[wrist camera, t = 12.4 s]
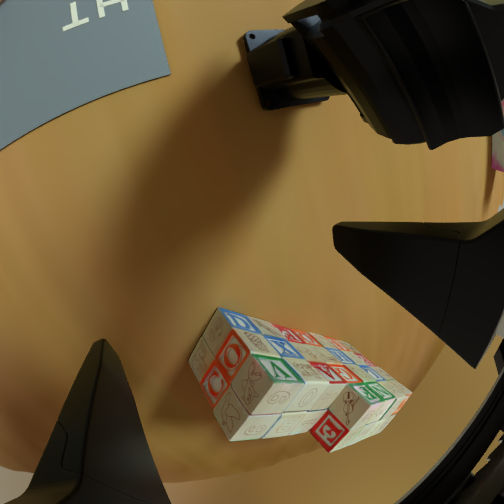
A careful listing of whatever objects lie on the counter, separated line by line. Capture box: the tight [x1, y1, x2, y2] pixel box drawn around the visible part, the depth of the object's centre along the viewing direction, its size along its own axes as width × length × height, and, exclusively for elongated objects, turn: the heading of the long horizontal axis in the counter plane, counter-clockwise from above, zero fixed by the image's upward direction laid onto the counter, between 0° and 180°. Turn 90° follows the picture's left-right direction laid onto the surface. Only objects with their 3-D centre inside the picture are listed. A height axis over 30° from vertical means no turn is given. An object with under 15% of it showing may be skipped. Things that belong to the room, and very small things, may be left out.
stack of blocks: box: [189, 307, 412, 453], centre depth 24 cm, size 21×6×12 cm, turn 56°
